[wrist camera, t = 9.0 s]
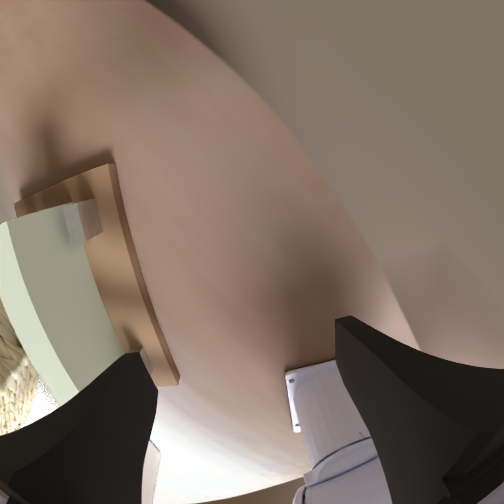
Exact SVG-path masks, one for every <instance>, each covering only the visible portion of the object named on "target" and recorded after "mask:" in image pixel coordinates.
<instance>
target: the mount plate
mask: <svg viewBox="0 0 504 504" xmlns="http://www.w3.org/2000/svg"><path fill="white" fill-rule="evenodd" d="M94 198H95V200H96V204H97V209H98V213H99V217H100V221H101V225H102V229H103V233H101V234H99V235H97V236H95V237H93V238H91V239H89V240H88V241H85V242H83V245H84V249H85V252H86V256H87V259H88V262H89V265H90V268H91V271H92V274H93V277H94V280H95V283H96V286H97V289H98V292H99V294H100V297H101V300H102V302H103V305H104V307H105V310H106V313H107V315H108V317H109V320H110V322H111V325H112V327H113V329H114V332H115V334H116V336H117V338H118V341H119V343H120V345H121V347H122V349H123V351H124V353H128V351H129V349H130V347H141V346H143V347H144V349H145V352H146V354H147V356H148V358H149V360H150V363H151V365H152V367H153V369H154V370H153V373H152V375H151V378H152V380H153V382H154V384H155V386H156V387H158V386H175V385H178V383H179V379H180V375H179V373H178V370H177V368H176V366H175V363H174V361H173V359H172V356H171V354H170V351H169V349H168V346H167V344H166V341H165V339H164V336H163V334H162V331H161V328H160V326H159V323H158V320H157V318H156V315H155V312H154V309H153V306H152V304H151V301H150V298H149V295H148V292H147V289H146V286H145V283H144V279H143V276H142V273H141V270H140V266H139V263H138V260H137V256H136V253H135V249H134V245H133V242H132V238H131V234H130V230H129V226H128V222H127V218H126V214H125V210H124V206H123V201H122V196H121V192H120V187H119V182H118V177H117V172H116V166H115V164H110V163H108V164H105V165H102V166H99V167H96V168H94V169H91V170H88V171H86V172H83V173H81V174H78V175H76V176H73V177H71V178H68V179H66V180H63V181H61V182H59V183H56V184H54V185H52V186H50V187H47V188H45V189H43V190H41V191H39V192H37V193H35V194H32V195H30V196H28V197H26V198H24V199H22V200H20V201H18V202H16V203H15V204H14V205H15V210H16V215H17V218H18V217H21V216H24V215H28V214H31V213H34V212H38V211H41V210H45V209H49V208H52V207H56V206H60V205H64V204H67V203H71V202H73V204H75V203H78V202H82V201H86V200H90V199H94Z"/></svg>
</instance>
